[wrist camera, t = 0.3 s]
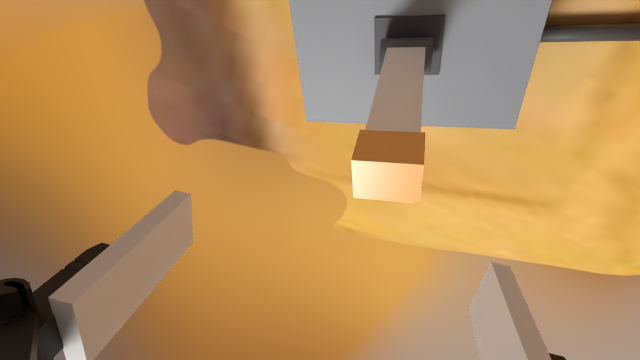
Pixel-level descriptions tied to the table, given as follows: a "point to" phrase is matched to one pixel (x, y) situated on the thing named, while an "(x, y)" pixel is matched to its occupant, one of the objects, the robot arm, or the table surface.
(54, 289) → the robot arm
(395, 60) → the breaker lever
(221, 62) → the table surface
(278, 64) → the table surface
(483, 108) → the grey power plug
